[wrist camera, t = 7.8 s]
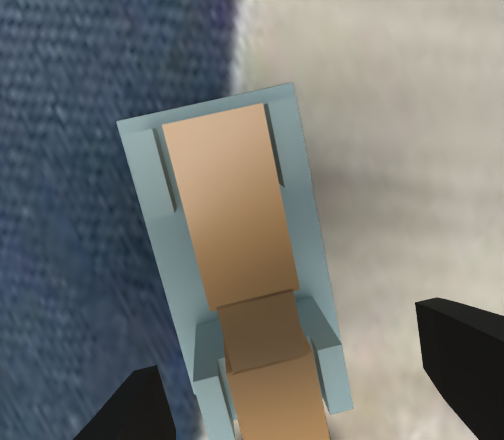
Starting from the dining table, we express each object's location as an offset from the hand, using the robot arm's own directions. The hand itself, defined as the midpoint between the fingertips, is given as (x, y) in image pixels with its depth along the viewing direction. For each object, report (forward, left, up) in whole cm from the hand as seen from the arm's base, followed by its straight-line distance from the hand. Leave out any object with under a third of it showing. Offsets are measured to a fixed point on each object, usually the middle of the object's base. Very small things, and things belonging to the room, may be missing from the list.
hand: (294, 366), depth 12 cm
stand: (+1, -1, -10) cm, 10 cm away
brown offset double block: (+1, -1, -6) cm, 6 cm away
